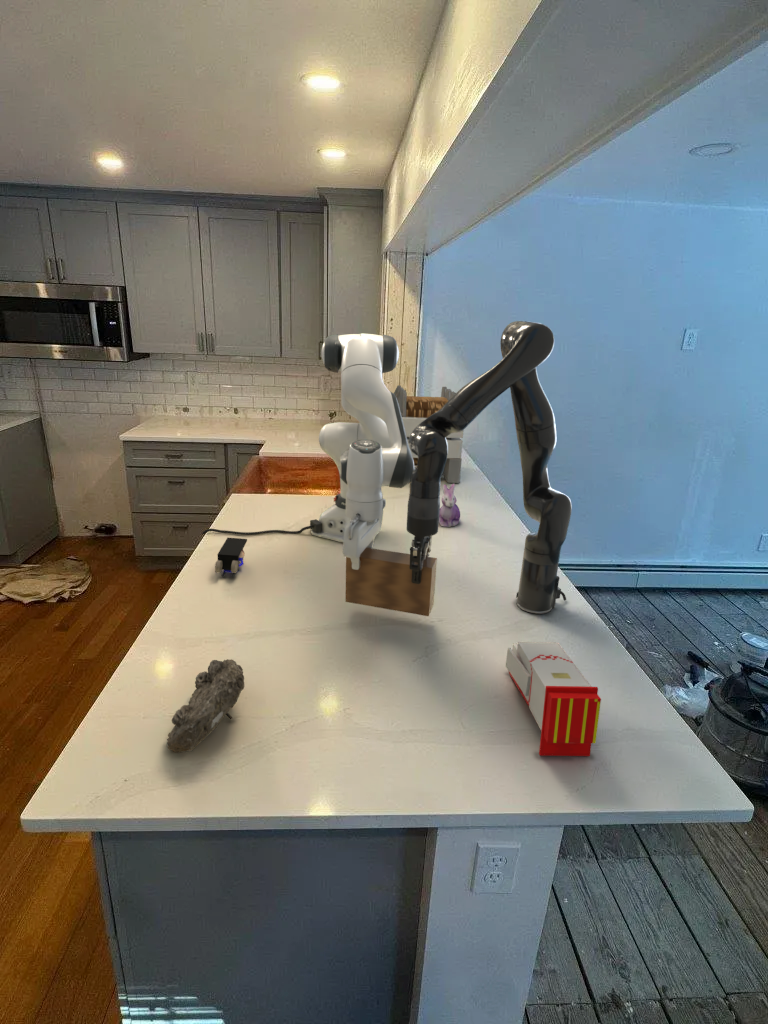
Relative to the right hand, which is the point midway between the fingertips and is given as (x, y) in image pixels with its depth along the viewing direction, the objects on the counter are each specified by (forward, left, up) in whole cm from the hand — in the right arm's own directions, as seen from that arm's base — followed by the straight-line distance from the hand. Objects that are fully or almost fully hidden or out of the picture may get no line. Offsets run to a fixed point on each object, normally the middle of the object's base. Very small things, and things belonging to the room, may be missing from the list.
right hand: (419, 576), depth 138 cm
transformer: (-57, -129, -13) cm, 141 cm away
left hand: (+12, -8, +2) cm, 15 cm away
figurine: (-40, -63, -13) cm, 76 cm away
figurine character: (+40, -44, -13) cm, 61 cm away
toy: (-12, +36, -13) cm, 41 cm away
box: (+6, -4, -9) cm, 11 cm away
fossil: (+51, +20, -13) cm, 56 cm away
